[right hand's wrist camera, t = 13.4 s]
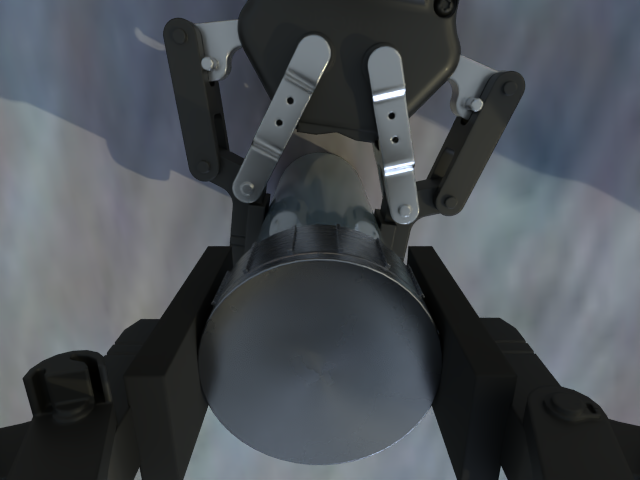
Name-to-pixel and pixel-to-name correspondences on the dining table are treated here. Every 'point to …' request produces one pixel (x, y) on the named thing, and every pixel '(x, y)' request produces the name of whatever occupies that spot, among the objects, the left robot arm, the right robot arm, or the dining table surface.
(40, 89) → the dining table surface
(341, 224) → the jar
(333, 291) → the lid
